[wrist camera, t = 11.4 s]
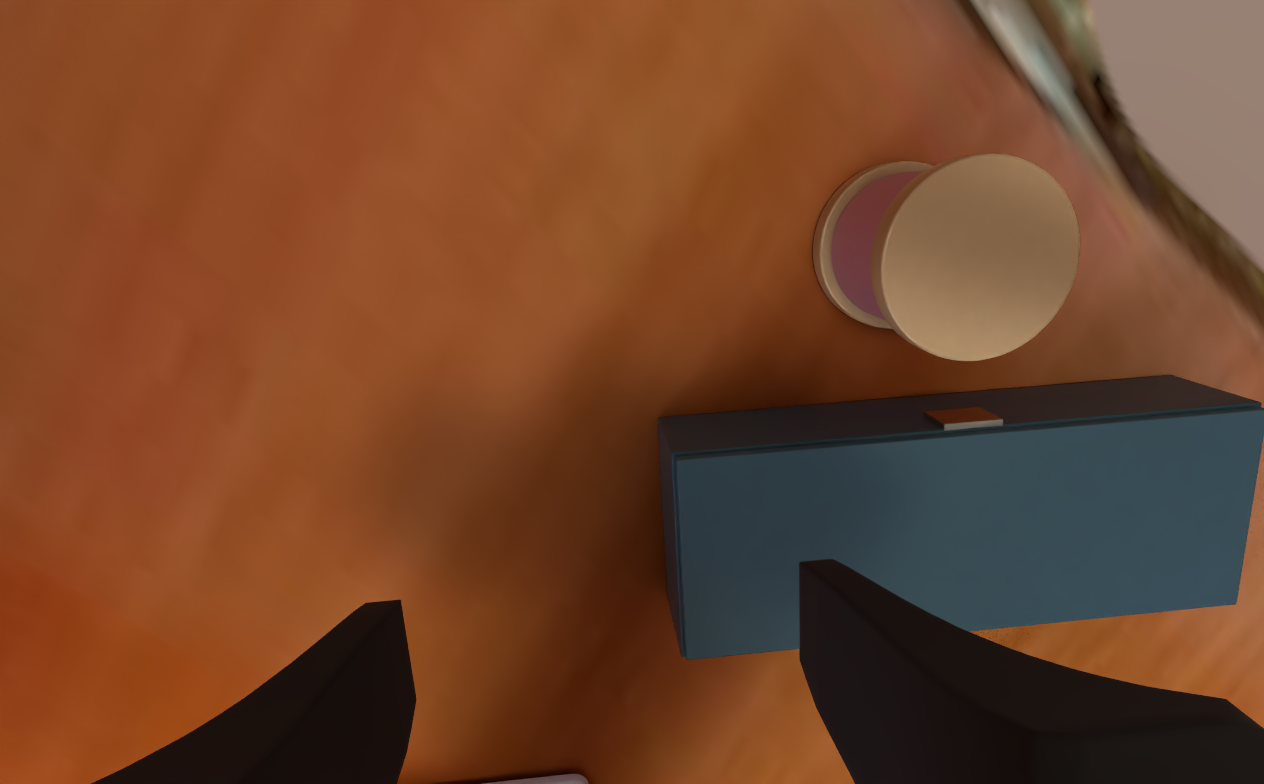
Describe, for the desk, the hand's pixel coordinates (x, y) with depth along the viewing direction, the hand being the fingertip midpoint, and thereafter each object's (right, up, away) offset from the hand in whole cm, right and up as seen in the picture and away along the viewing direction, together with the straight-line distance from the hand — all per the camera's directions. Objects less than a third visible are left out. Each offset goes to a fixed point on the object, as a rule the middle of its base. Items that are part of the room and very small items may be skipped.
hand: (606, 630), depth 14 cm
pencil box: (+9, +1, +10) cm, 14 cm away
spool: (+8, +8, +8) cm, 14 cm away
